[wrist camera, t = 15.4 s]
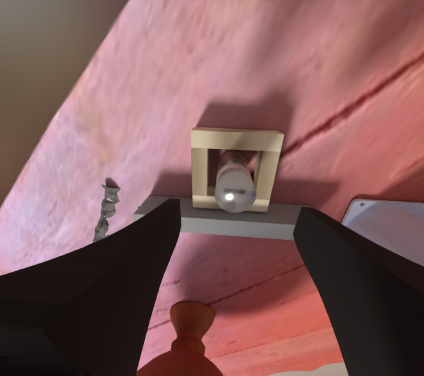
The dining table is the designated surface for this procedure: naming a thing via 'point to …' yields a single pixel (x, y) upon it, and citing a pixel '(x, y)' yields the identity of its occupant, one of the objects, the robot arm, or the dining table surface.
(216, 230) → the backstop wall
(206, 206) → the socket block
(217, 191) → the dowel
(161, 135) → the dining table surface
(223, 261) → the dining table surface
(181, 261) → the dining table surface
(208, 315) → the goblet
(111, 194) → the driftwood
